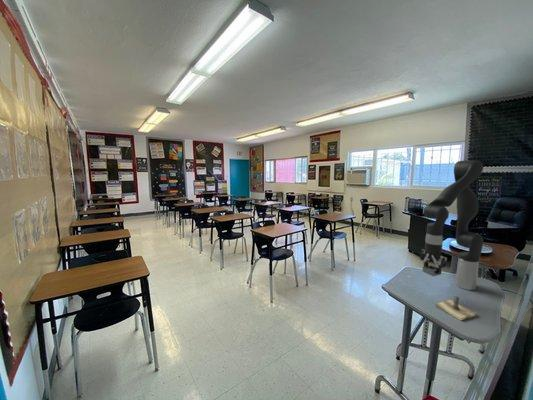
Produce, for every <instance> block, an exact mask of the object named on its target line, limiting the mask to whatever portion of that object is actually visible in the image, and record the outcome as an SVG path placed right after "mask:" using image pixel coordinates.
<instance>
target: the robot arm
mask: <svg viewBox="0 0 533 400" xmlns="http://www.w3.org/2000/svg"><path fill="white" fill-rule="evenodd" d="M483 170H484V165H483V162H482V161H480V160H458V161H457V162H456V163H455V164H454V166H453V176H454V182H453V183H451V184H450V185H448V186H447V187H445V188H444V189H443V190H442V191H441V193H440V194H439V195H438V196H437V197H436V198H435V199H433V200H432V201H431V202H429V203H428V204H427V205H426V206H425V207H424V210H423V215H424V216H425V217H426V218H429V219H432V220H433V219H434V220H435V221H434V222H428V223H427V225H426V231H425V232H426V233H425V234H426V235H425V239H424V241H425V242H424V243H425V244H424V249H423V248H422V249H419V259H420V261H422V262H423V266H428V265H430V263H429V261H430V260H431V261H432V262H434V264H435V267H436V274H440V273H441V274H442V270H441V269H444V268H446V267H447V263H448V257H447V256H443V255H442V251H443V242H444V240H443V239H444V237H443V232H444V226H445V224H446V221H447V219H448V217H449V211H448V207H451V206H452V205H453V204H454V202H455V200H456V215H457V216H456V217H457V218H456V219H457V221H456V234H455V239H456V241H455V242H456V244H457V245H459V247H463V248H466V249H468V251H460V252H459V253H458V255H457V264H456V266H457V267H456V275H455V285H456V286H457V287H458V288H460V289H463V290H467V291H475V290H476V289H477V288H478V287H477V286H478V277H479V266H480V264H479V263H480V258H481V256H482V255H481V254H482V250H483V245H484V237H483V236H482V235H481V234H479V233H476V232H470V231H469V224H470V222H471V221H472V220H474V219H475V217H476V215H477V214H478V212H479V199H478V197H477V196H476V194H475V193H474V191H473V190H472V189H471V187H470V185H471V184H472V183H474V181H476V180H477V179H478V177H480V176H481V174H482V173H483ZM441 274H440V275H441Z"/></svg>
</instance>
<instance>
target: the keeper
mask: <svg viewBox="0 0 533 400" xmlns="http://www.w3.org/2000/svg"><path fill="white" fill-rule="evenodd" d="M459 301H460V297H459V296H455V295H454V299H449V300H448V299H447V300H445V301H442V302H437V303H435V307H436V308H438V309H440V310H442V311H443V312H445V313H446V314H449V316H452V317H454V318H455V319H458V320H460V321H463V320H466V319H470V318H473V317H477V316H478V312H476V311H474V310H472V309H470V308H468V307H466V306H464V305H462V304H460V303H459Z"/></svg>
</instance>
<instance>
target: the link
mask: <svg viewBox="0 0 533 400" xmlns="http://www.w3.org/2000/svg"><path fill="white" fill-rule="evenodd" d="M442 270H443V268H441V271H442ZM422 273H424V274H427V275H429V276H431V277H436V276H440V275H442V272H441V273H440V274H436V265H435V266H434V265H432V264H428V266H424V265H423V266H422Z"/></svg>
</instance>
